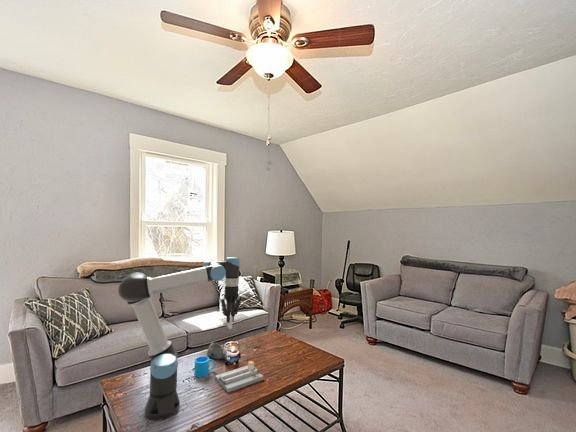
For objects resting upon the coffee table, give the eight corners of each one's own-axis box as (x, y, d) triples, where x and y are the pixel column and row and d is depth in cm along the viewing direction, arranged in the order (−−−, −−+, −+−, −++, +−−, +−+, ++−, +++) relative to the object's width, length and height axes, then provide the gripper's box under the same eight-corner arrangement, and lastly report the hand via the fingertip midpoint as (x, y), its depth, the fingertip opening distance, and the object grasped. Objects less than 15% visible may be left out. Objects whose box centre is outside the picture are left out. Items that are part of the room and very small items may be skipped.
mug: (195, 378, 163) (196, 363, 163) (193, 371, 170) (193, 357, 171) (216, 374, 169) (217, 359, 169) (213, 367, 176) (213, 354, 176)
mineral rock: (228, 360, 185) (228, 345, 186) (211, 364, 180) (212, 348, 180) (221, 353, 196) (221, 338, 196) (205, 356, 190) (206, 341, 191)
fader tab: (250, 373, 166) (250, 363, 166) (247, 371, 168) (247, 361, 169) (253, 372, 168) (254, 362, 168) (251, 370, 170) (251, 360, 170)
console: (227, 392, 150) (228, 385, 150) (215, 379, 163) (215, 372, 163) (263, 379, 164) (263, 373, 164) (249, 368, 176) (249, 362, 177)
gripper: (224, 287, 154) (221, 332, 153) (245, 285, 162) (243, 327, 161) (218, 285, 160) (215, 328, 159) (238, 283, 168) (236, 323, 167)
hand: (229, 327), depth 160 cm, fingers closed
